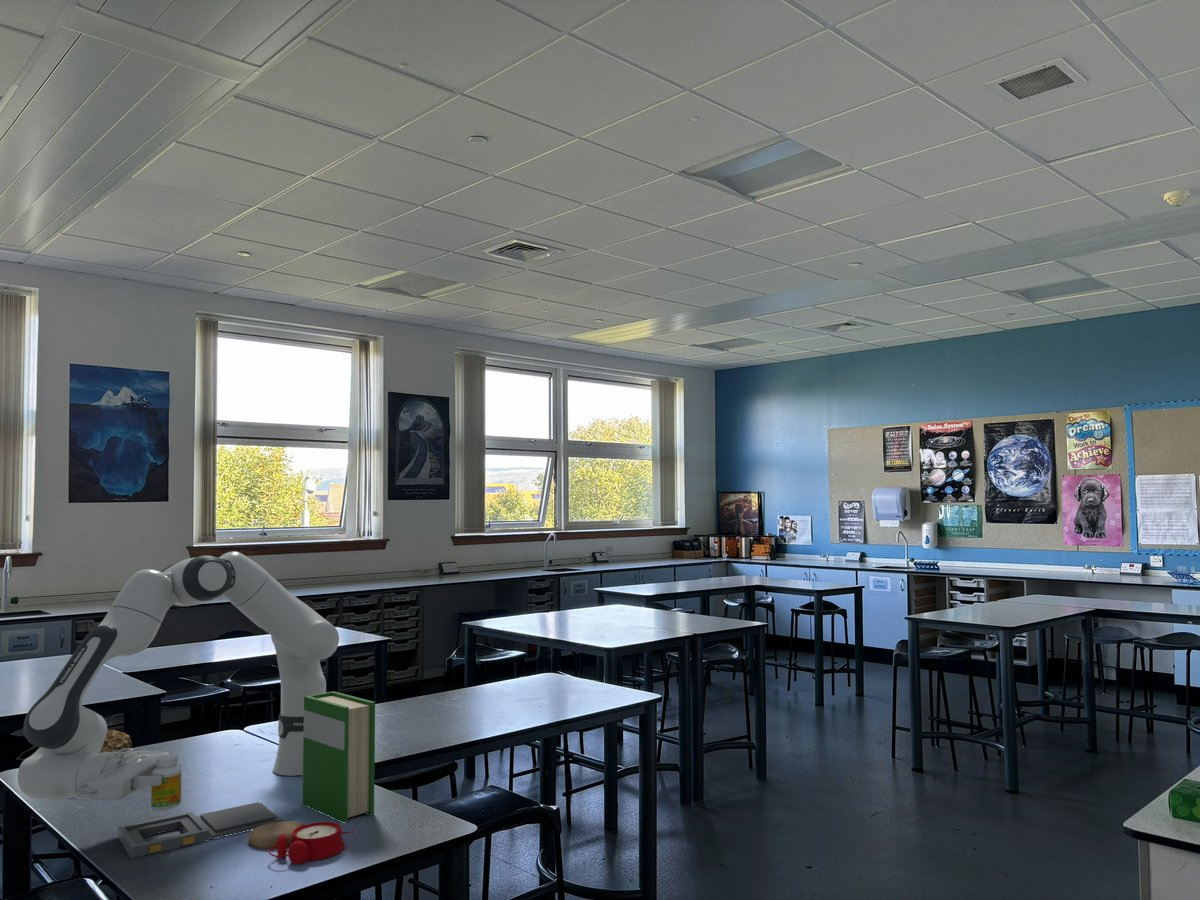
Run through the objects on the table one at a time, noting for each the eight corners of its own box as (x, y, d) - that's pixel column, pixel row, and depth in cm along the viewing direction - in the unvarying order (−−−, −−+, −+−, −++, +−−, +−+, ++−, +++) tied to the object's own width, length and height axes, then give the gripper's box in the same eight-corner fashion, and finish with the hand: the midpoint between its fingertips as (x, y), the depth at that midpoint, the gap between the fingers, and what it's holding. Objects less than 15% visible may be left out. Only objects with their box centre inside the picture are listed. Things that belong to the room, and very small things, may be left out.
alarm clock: (360, 829, 169) (292, 832, 158) (353, 863, 167) (284, 869, 157) (331, 817, 176) (263, 820, 165) (324, 850, 174) (256, 855, 163)
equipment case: (261, 806, 193) (261, 797, 193) (283, 824, 182) (283, 814, 182) (117, 837, 175) (118, 827, 175) (132, 859, 164) (132, 848, 164)
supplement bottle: (151, 812, 171) (151, 762, 172) (151, 804, 176) (151, 755, 176) (181, 807, 174) (181, 758, 174) (180, 799, 178) (181, 751, 179)
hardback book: (374, 814, 187) (375, 702, 189) (343, 823, 182) (344, 707, 184) (332, 796, 199) (333, 691, 201) (302, 804, 194) (304, 696, 196)
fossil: (40, 765, 217) (73, 708, 222) (96, 780, 225) (127, 724, 230) (60, 793, 200) (95, 730, 204) (120, 808, 208) (153, 747, 213)
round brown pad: (295, 824, 181) (295, 817, 181) (314, 839, 173) (315, 832, 173) (241, 837, 174) (241, 829, 175) (258, 853, 166) (258, 845, 166)
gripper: (72, 775, 165) (144, 774, 165) (130, 745, 185) (194, 745, 185) (71, 809, 165) (143, 808, 165) (130, 775, 185) (194, 774, 185)
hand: (171, 774), depth 175 cm, fingers closed on supplement bottle, 5 cm apart
